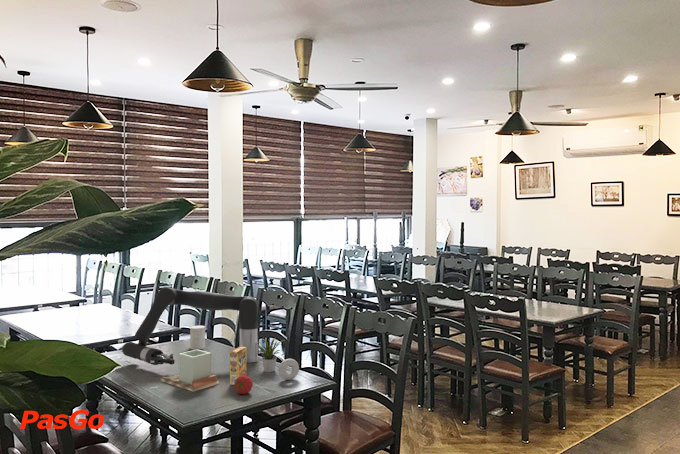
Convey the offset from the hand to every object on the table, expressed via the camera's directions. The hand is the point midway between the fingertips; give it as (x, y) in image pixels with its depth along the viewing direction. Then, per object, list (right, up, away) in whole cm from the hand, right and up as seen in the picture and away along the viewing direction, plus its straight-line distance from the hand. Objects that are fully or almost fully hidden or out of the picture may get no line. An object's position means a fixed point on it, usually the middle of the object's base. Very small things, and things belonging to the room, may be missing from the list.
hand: (173, 362), depth 255 cm
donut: (+55, -8, -3) cm, 55 cm away
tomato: (+37, -8, -22) cm, 44 cm away
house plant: (+45, -7, +13) cm, 47 cm away
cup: (-3, -6, +56) cm, 56 cm away
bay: (+10, -7, -7) cm, 14 cm away
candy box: (+32, -8, -7) cm, 33 cm away
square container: (+13, -6, -10) cm, 17 cm away
